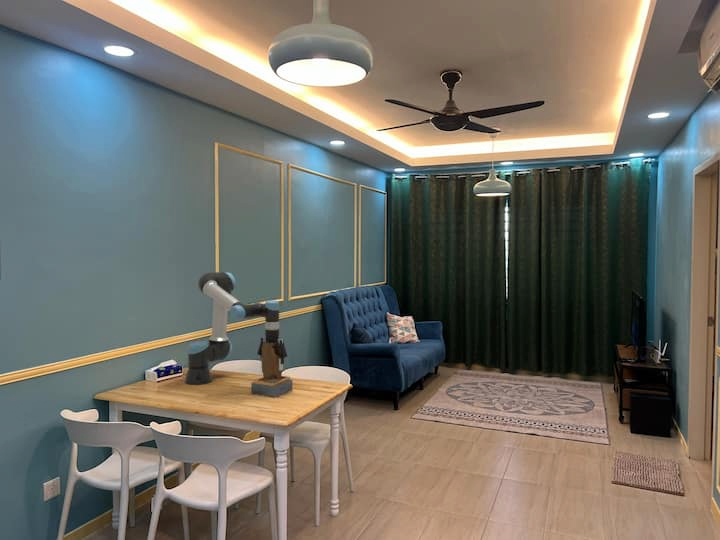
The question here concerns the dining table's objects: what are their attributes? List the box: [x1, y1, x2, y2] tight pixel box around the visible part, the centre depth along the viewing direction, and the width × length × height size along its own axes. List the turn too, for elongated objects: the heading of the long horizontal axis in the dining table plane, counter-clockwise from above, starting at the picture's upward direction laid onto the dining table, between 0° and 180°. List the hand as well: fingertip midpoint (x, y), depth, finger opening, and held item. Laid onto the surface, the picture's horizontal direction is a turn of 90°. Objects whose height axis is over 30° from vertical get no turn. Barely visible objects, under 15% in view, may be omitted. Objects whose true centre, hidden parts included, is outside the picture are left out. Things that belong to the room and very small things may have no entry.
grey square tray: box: [250, 375, 293, 398], centre depth 293 cm, size 16×16×8 cm
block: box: [261, 341, 283, 379], centre depth 293 cm, size 11×8×20 cm
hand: (272, 368), depth 293 cm, fingers closed on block, 11 cm apart
